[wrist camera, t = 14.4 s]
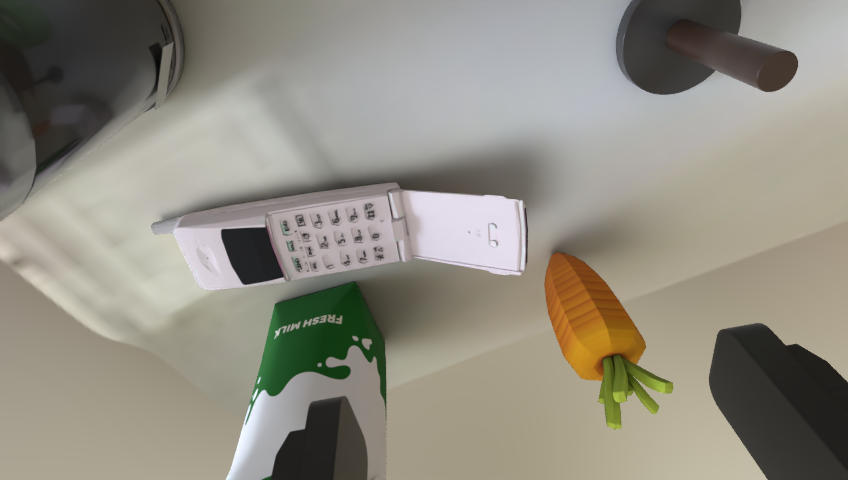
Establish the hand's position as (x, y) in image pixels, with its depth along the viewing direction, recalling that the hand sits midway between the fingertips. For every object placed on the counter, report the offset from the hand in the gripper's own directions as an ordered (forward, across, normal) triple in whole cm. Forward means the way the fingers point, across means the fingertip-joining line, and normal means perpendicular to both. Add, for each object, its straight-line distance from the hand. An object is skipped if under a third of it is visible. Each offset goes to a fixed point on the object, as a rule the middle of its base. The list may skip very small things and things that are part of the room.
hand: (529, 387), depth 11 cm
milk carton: (+24, +12, +18) cm, 32 cm away
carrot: (+24, -7, +15) cm, 29 cm away
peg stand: (+24, -15, 0) cm, 28 cm away
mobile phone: (+24, +9, +8) cm, 27 cm away
